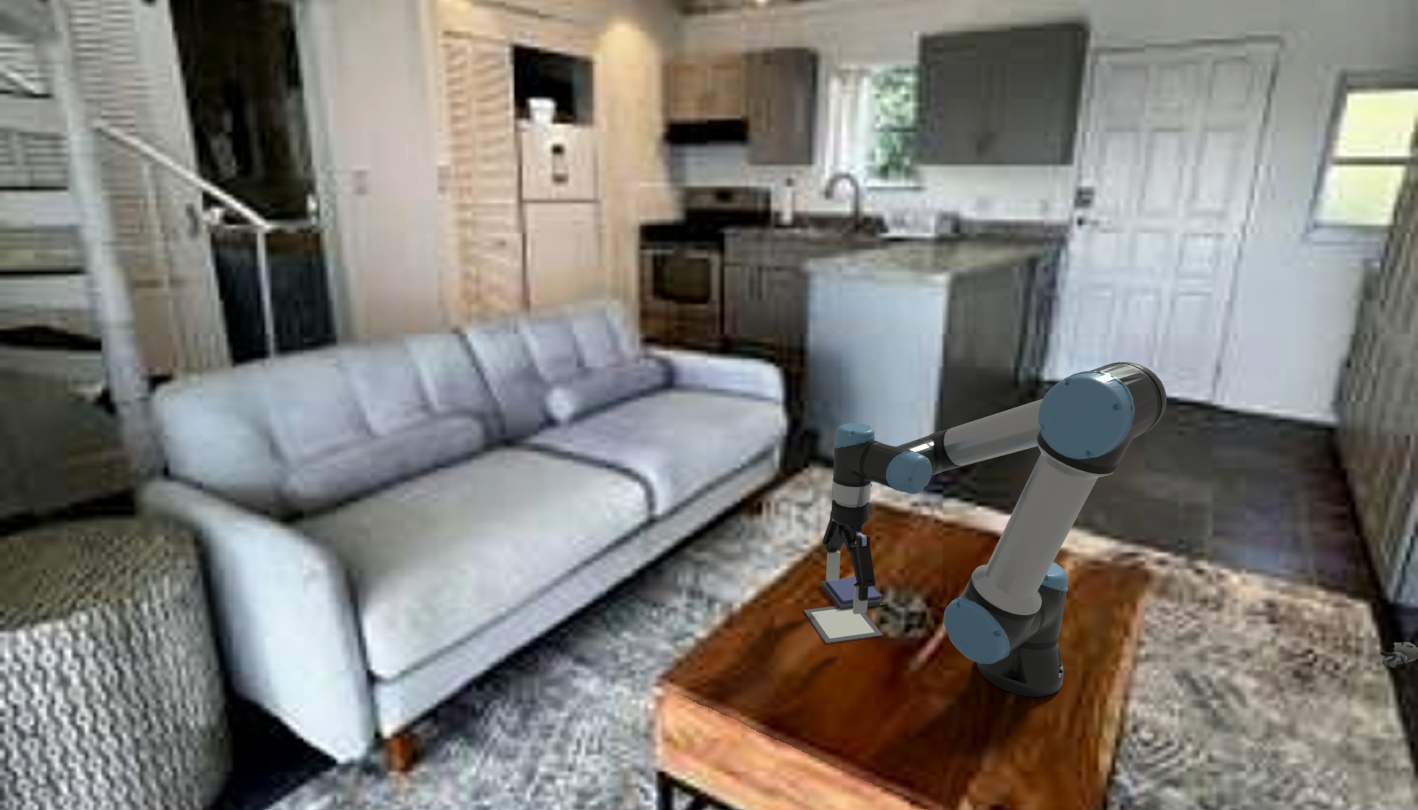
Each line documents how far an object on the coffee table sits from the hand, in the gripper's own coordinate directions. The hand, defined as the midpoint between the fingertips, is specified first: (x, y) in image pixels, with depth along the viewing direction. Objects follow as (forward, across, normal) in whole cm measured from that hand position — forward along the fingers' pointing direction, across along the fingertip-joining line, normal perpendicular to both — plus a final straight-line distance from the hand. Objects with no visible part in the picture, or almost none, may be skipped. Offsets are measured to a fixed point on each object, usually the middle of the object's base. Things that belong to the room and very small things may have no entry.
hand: (845, 595), depth 157 cm
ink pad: (+7, +10, -7) cm, 14 cm away
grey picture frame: (+7, 0, 0) cm, 7 cm away
